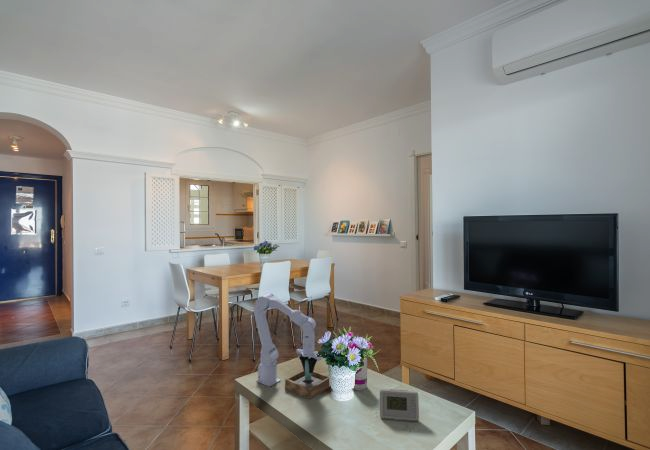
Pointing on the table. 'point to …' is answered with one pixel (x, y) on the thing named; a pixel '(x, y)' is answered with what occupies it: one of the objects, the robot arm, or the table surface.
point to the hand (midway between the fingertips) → (308, 371)
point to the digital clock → (399, 405)
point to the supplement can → (361, 377)
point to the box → (307, 384)
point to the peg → (307, 371)
